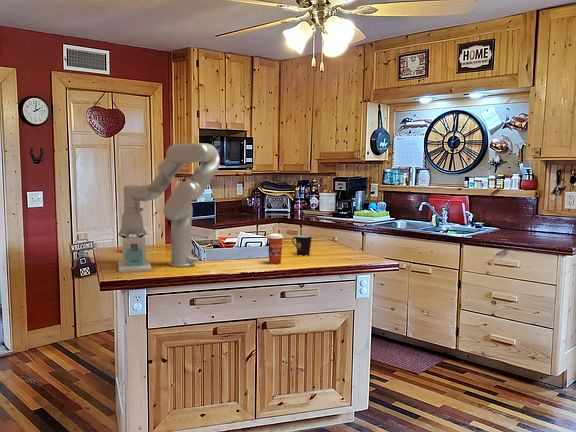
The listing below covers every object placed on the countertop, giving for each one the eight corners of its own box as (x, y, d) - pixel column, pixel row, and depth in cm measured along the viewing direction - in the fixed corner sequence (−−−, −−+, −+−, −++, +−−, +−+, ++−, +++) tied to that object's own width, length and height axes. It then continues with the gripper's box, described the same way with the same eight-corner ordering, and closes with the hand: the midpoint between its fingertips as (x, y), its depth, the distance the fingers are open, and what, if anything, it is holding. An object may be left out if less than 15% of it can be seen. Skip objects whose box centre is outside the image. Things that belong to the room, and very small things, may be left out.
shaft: (138, 253, 239) (138, 243, 239) (131, 253, 238) (130, 244, 238) (136, 246, 258) (135, 237, 257) (129, 246, 256) (129, 237, 256)
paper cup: (269, 264, 254) (269, 236, 252) (265, 261, 261) (265, 233, 260) (284, 264, 256) (285, 235, 254) (280, 260, 263) (281, 233, 262)
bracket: (151, 270, 238) (151, 240, 236) (119, 272, 234) (118, 242, 232) (148, 262, 255) (148, 234, 253) (118, 264, 250) (117, 236, 249)
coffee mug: (314, 255, 278) (314, 237, 277) (298, 256, 275) (299, 237, 274) (305, 251, 289) (305, 233, 287) (290, 252, 285) (290, 234, 284)
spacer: (142, 265, 243) (142, 250, 242) (126, 266, 241) (126, 251, 240) (142, 264, 245) (142, 249, 244) (126, 265, 243) (126, 250, 242)
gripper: (149, 209, 259) (149, 246, 261) (114, 210, 254) (114, 247, 256) (150, 211, 252) (150, 249, 254) (114, 212, 247) (115, 250, 249)
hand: (132, 248), depth 255 cm, fingers closed on shaft, 3 cm apart
